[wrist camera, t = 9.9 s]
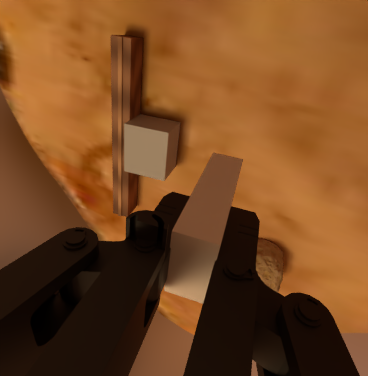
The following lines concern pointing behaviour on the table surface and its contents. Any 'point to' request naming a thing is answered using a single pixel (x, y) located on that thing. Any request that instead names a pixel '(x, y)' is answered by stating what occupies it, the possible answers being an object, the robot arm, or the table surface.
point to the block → (150, 146)
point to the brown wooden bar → (124, 114)
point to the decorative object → (269, 264)
